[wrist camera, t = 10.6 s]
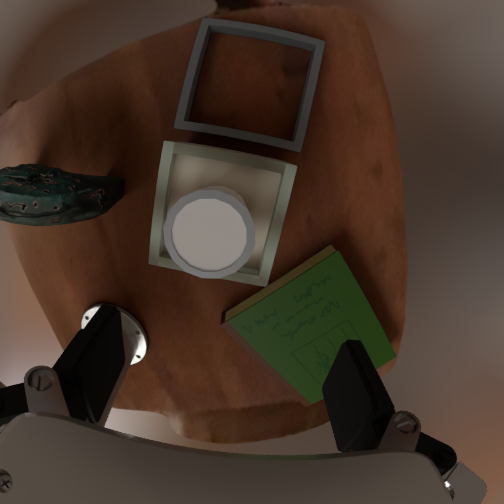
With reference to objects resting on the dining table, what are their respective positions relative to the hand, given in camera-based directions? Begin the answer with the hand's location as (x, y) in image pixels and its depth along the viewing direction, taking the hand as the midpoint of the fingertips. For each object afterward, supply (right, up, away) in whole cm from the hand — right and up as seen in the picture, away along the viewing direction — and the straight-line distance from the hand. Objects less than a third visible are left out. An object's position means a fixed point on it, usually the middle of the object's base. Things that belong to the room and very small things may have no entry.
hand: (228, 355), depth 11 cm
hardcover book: (+11, -9, +33) cm, 36 cm away
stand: (-2, +11, +24) cm, 27 cm away
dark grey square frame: (+1, +25, +19) cm, 31 cm away
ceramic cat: (-25, +15, +23) cm, 37 cm away
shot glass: (-2, +8, +16) cm, 18 cm away
